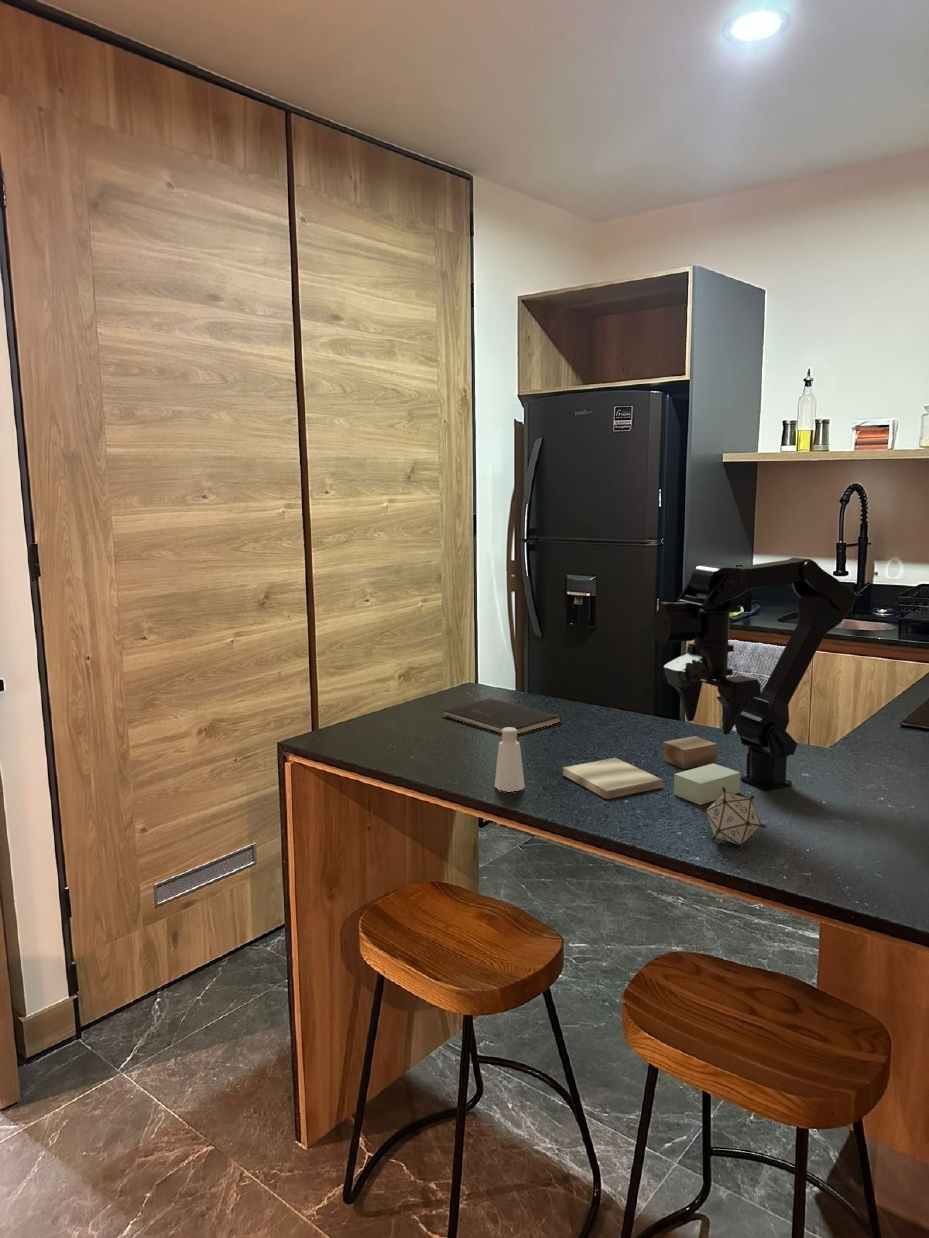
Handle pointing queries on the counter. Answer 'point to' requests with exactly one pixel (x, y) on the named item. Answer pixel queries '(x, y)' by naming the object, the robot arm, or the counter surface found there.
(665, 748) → the walnut block
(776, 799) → the counter surface
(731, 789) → the green block
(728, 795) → the game die
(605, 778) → the birch board
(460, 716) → the hardcover book
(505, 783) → the salt shaker
